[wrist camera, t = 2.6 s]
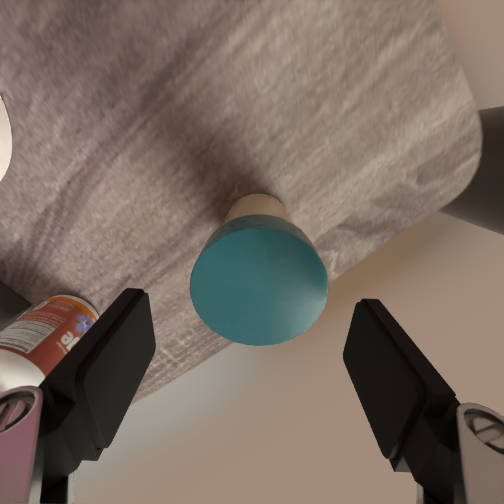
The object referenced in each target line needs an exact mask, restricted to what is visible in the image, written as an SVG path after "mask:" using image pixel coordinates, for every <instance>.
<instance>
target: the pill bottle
mask: <svg viewBox="0 0 504 504" xmlns="http://www.w3.org/2000/svg"><path fill="white" fill-rule="evenodd" d="M98 319H99V316H98V314H97V312H96V310H95V309H94V308H93V307H92V306H91V305H90V304H89V303H87V302H86V301H84V300H83V299H80V298H78V297H75V296H70V295H56V296H53V297H50V298H48V299H46V300H45V301H43V302H42V303H40V304H39V305H38V306H36V307H35V308H33V309H32V310H31V311H29V312H28V313H26V314H25V315H24V316H22V317H21V318H19V319H18V320H16V321H15V322H14V323H12V324H11V325H10V326H8V327H7V328H5V329H4V330H3V331H1V332H0V393H2V392H5V391H7V390H9V389H12V388H15V387H19V386H26V385H32V386H36V387H38V386H39V385H40V383H41V382H42V381H43V380H44V379H45V377H46V376H47V375H48V374H49V373H50V372H51V371H52V369H53V368H54V367H55V366H56V365H57V364H58V363H59V362H60V361H61V359H62V358H63V357H64V356H65V355H66V354H67V353H68V352H69V351H70V350H71V348H72V347H73V346H74V345H75V344H76V343H77V342H78V341H79V340H80V338H81V337H82V336H83V335H84V334H85V333H86V332H87V331H88V330H89V328H90V327H91V326H92V325H93V324H94V323H95V322H96V321H97V320H98Z"/></svg>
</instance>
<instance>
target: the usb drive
mask: <svg viewBox="0 0 504 504" xmlns="http://www.w3.org/2000/svg"><path fill="white" fill-rule="evenodd" d="M30 305H31V304H30V303H29V302H27V301H26V300H25V299H23V298H22V297H20V296H19V295H18V294H16V293H15V292H13V291H12V290H11V289H9V288H8V287H6V286H5V285H3V284H2V283H1V282H0V332H1V331H3V330H4V329H5V328H7V327H8V326H10V325H11V324H12V323H13V322H14V321H15V320H16V319H17V318H18V317H19V316H20V315H21V314H22V313H23V312H24V311H25V310H26V309H27V308H28V307H29V306H30Z"/></svg>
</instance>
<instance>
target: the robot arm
mask: <svg viewBox="0 0 504 504" xmlns="http://www.w3.org/2000/svg"><path fill="white" fill-rule="evenodd" d="M155 349H156V343H155V336H154V329H153V323H152V316H151V309H150V303H149V296H148V293H144V291H143V289H136V288H126V289H125V290H124V291H123V292H122V293H121V294H120V295H119V296H118V298H117V299H116V300H115V301H114V302H113V303H112V304H111V305H110V306H109V307H108V309H107V310H106V311H105V312H104V313H103V314H102V315H101V316H100V317H99V319H98V320H97V321H96V322H95V323H94V324H93V325H92V326H91V327H90V328H89V330H88V331H87V332H86V333H85V334H84V335H83V336H82V337H81V338H80V340H79V341H78V342H77V343H76V344H75V345H74V346H73V347H72V348H71V350H70V351H69V352H68V353H67V354H66V355H65V356H64V357H63V358H62V359H61V361H60V362H59V363H58V364H57V365H56V366H55V367H54V368H53V369H52V371H51V372H50V373H49V374H48V375H47V376H46V377H45V379H44V380H43V381H42V382H41V383H40V385H39V386H38V387H36V386H32V385H26V386H19V387H15V388H12V389H9V390H7V391H5V392H2V393H0V504H73V493H74V471H75V470H76V469H77V468H78V466H79V465H80V463H81V461H82V460H90V461H97V460H98V459H99V457H100V455H101V453H102V451H103V449H104V448H108V447H109V446H110V444H111V442H112V441H113V439H114V437H115V434H116V432H117V430H118V428H119V426H120V424H121V422H122V420H123V418H124V416H125V413H126V412H127V409H128V407H129V405H130V403H131V401H132V399H133V397H134V395H135V393H136V391H137V389H138V387H139V385H140V383H141V380H142V378H143V376H144V374H145V372H146V370H147V368H148V366H149V364H150V362H151V360H152V358H153V356H154V353H155ZM343 360H344V363H345V365H346V368H347V370H348V373H349V375H350V378H351V380H352V383H353V385H354V387H355V390H356V392H357V394H358V397H359V399H360V402H361V404H362V407H363V409H364V411H365V414H366V416H367V419H368V421H369V423H370V425H371V428H372V431H373V433H374V435H375V438H376V440H377V443H378V445H379V448H380V450H381V452H382V454H383V456H384V457H385V458H386V459H389V461H390V463H391V465H392V468H393V470H394V472H411V473H412V475H413V477H414V479H415V481H416V482H417V504H504V417H503V416H501V415H500V414H499V413H497V412H495V411H493V410H491V409H489V408H487V407H484V406H482V405H479V404H475V403H463V404H460V403H459V401H458V400H457V399H456V398H455V396H456V394H455V393H454V391H453V390H452V389H451V388H450V386H449V385H448V384H447V383H446V382H445V380H444V379H443V378H442V377H441V375H440V374H439V373H438V372H437V370H436V369H435V368H434V367H433V365H432V364H431V363H430V362H429V361H428V359H427V358H426V357H425V356H424V355H423V353H422V352H421V351H420V350H419V348H418V347H417V346H416V345H415V343H414V342H413V341H412V340H411V338H410V337H409V336H408V335H407V334H406V332H405V331H404V330H403V329H402V327H401V326H400V325H399V324H398V322H397V321H396V320H395V319H394V317H393V316H392V315H391V314H390V313H389V311H388V310H387V309H386V308H385V306H384V305H383V304H382V303H381V302H380V300H378V299H362V300H361V301H360V302H358V303H356V306H355V309H354V313H353V317H352V321H351V325H350V329H349V332H348V336H347V340H346V344H345V347H344V351H343Z"/></svg>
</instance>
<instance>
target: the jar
mask: <svg viewBox="0 0 504 504" xmlns="http://www.w3.org/2000/svg"><path fill="white" fill-rule="evenodd" d="M252 214H265V215H272V216H276V217H280V218H282V219H285V220H287V221H289V222H291V223H292V224H294V223H293V221H292V218H291V216H290V214H289V212H288V210H287V208H286V207H285V206H284V205H283V204H282V202H280V201H279V200H278V199H276V198H274V197H272V196H270V195H266V194H250V195H247V196H245V197H242V198H241V199H239V200H238V201H237V202H235V203H234V204H233V205H232V207H231V208H230V210H229V212H228V214H227V216H226V218H225V220H224V223H223V225H224V224H225V223H227V222H229V221H231V220H233V219H235V218H238V217H242V216H245V215H252Z"/></svg>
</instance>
